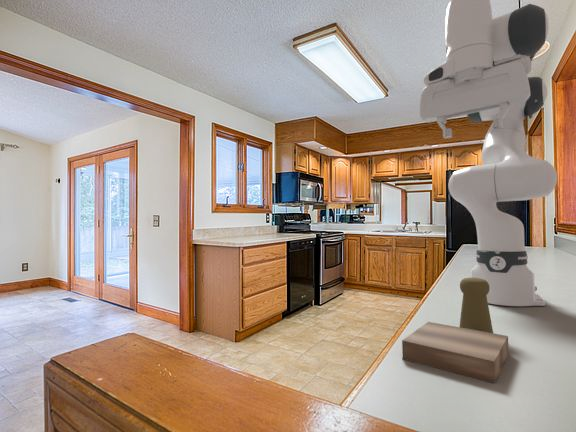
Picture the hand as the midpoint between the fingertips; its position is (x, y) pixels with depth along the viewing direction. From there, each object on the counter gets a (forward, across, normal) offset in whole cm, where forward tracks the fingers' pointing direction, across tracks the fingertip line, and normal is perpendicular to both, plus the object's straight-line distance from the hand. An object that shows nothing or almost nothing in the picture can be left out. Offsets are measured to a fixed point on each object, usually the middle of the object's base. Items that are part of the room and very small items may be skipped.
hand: (471, 133), depth 68 cm
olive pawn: (+41, 0, +2) cm, 41 cm away
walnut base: (+41, 0, +17) cm, 45 cm away
